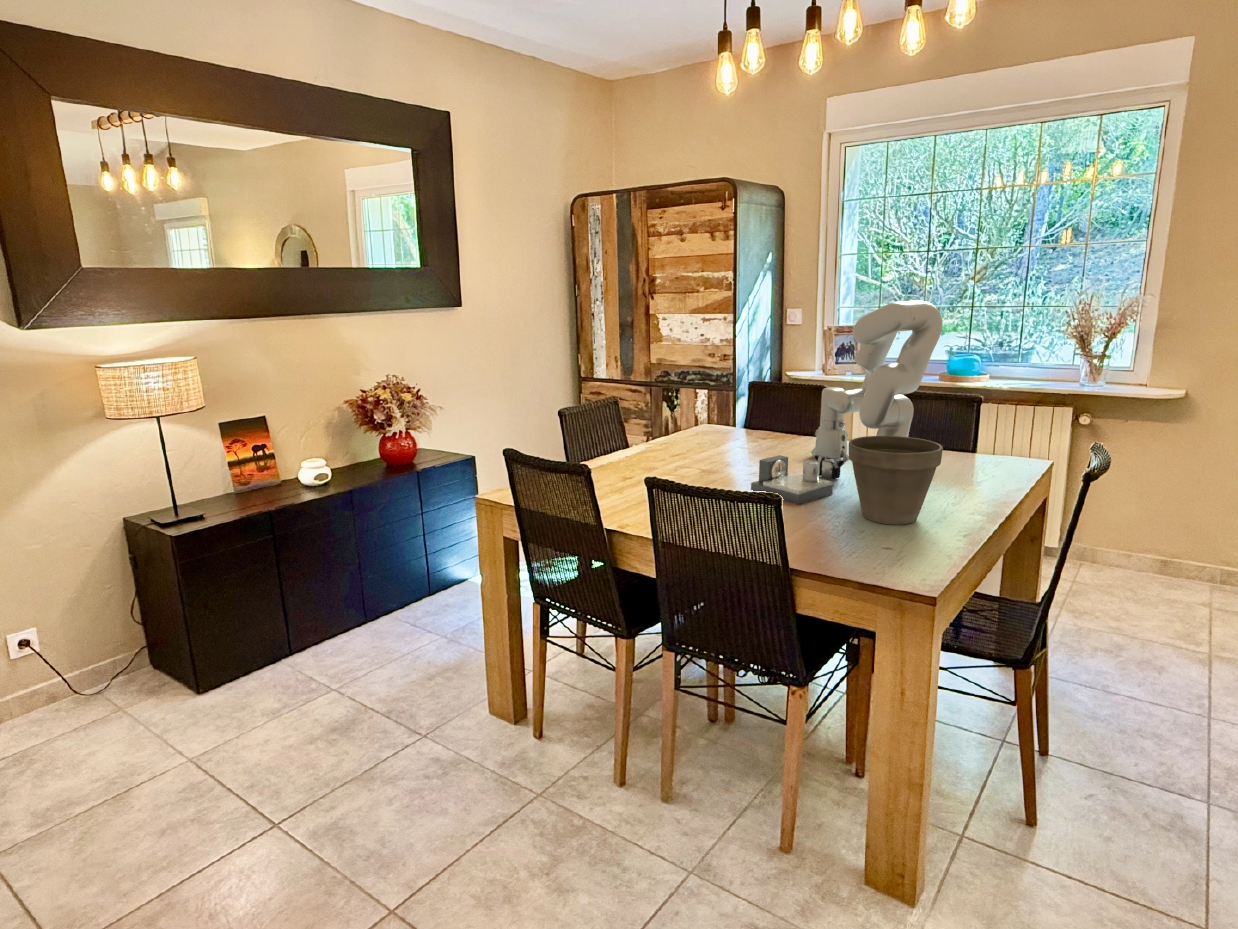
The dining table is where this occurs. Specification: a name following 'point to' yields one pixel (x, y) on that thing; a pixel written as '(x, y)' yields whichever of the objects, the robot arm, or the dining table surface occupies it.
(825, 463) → the steel spacer
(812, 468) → the cylinder
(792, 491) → the dial scale
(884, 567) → the dining table surface
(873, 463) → the plant pot
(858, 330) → the robot arm
